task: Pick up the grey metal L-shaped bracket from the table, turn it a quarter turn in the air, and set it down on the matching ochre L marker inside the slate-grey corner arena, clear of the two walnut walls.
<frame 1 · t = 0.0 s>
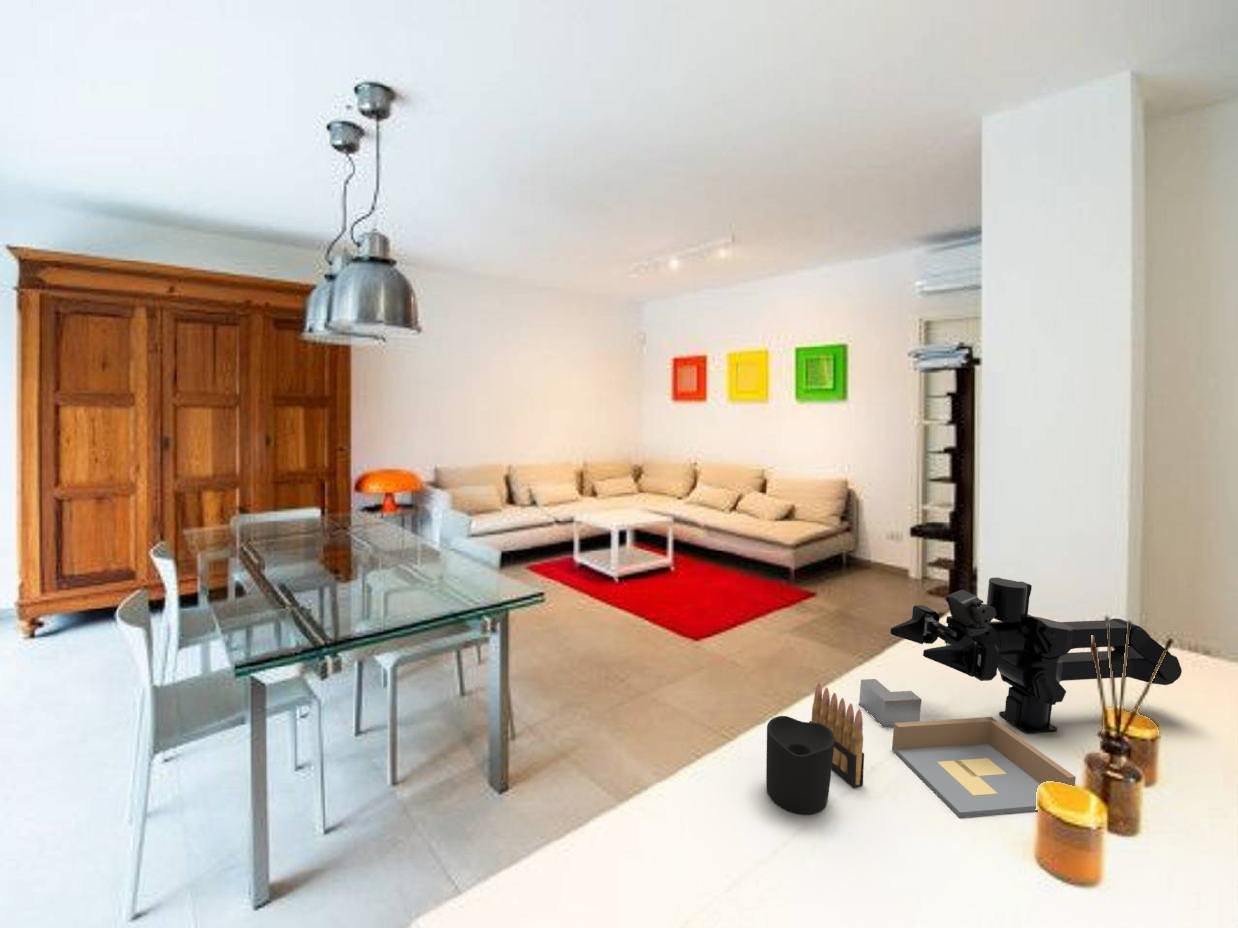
hand: (906, 641, 102), 17 cm above the kitchen counter, tool horizontal, fingers open, 9 cm apart
ammunition clip: (833, 767, 94), on the kitchen counter
pen holder: (796, 796, 87), on the kitchen counter
arena: (975, 776, 92), on the kitchen counter
angle bracket: (896, 721, 108), on the kitchen counter
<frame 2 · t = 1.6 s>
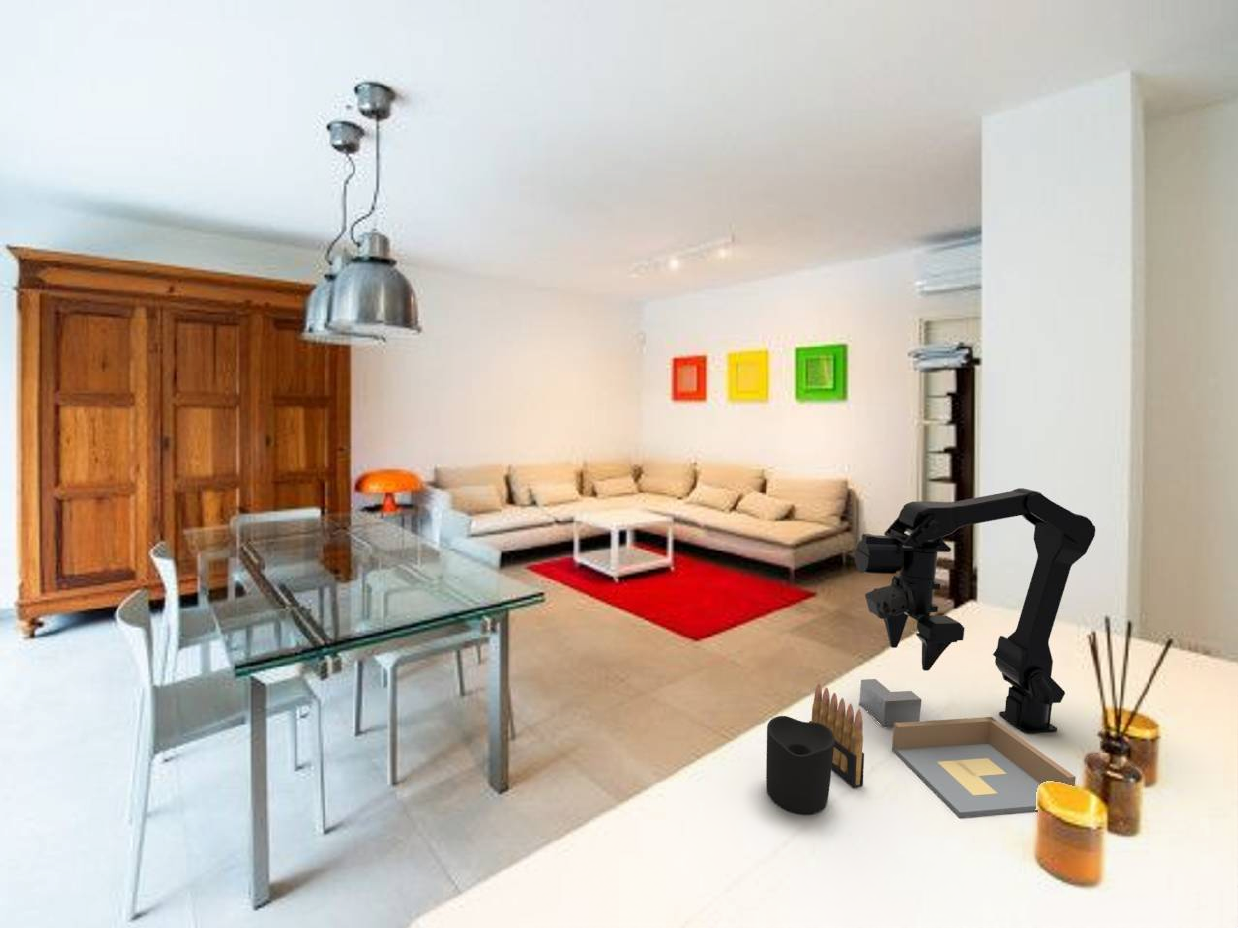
hand: (909, 658, 106), 12 cm above the kitchen counter, tool pointing down, fingers open, 9 cm apart
nothing on the kitchen counter moved.
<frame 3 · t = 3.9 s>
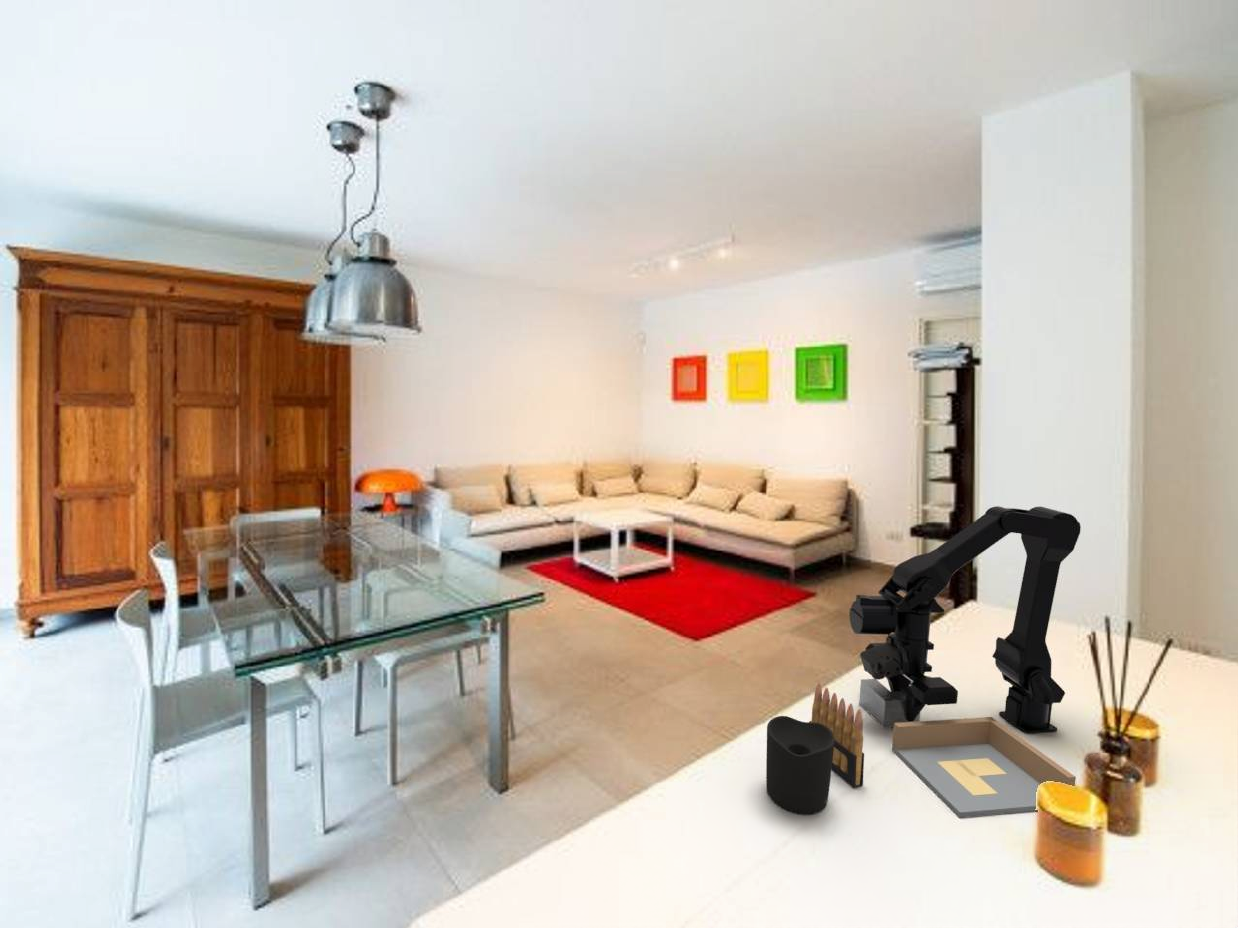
hand: (904, 715, 108), 1 cm above the kitchen counter, tool pointing down, fingers closed on angle bracket, 3 cm apart
angle bracket: (896, 721, 108), on the kitchen counter, touching gripper
everything else where it was.
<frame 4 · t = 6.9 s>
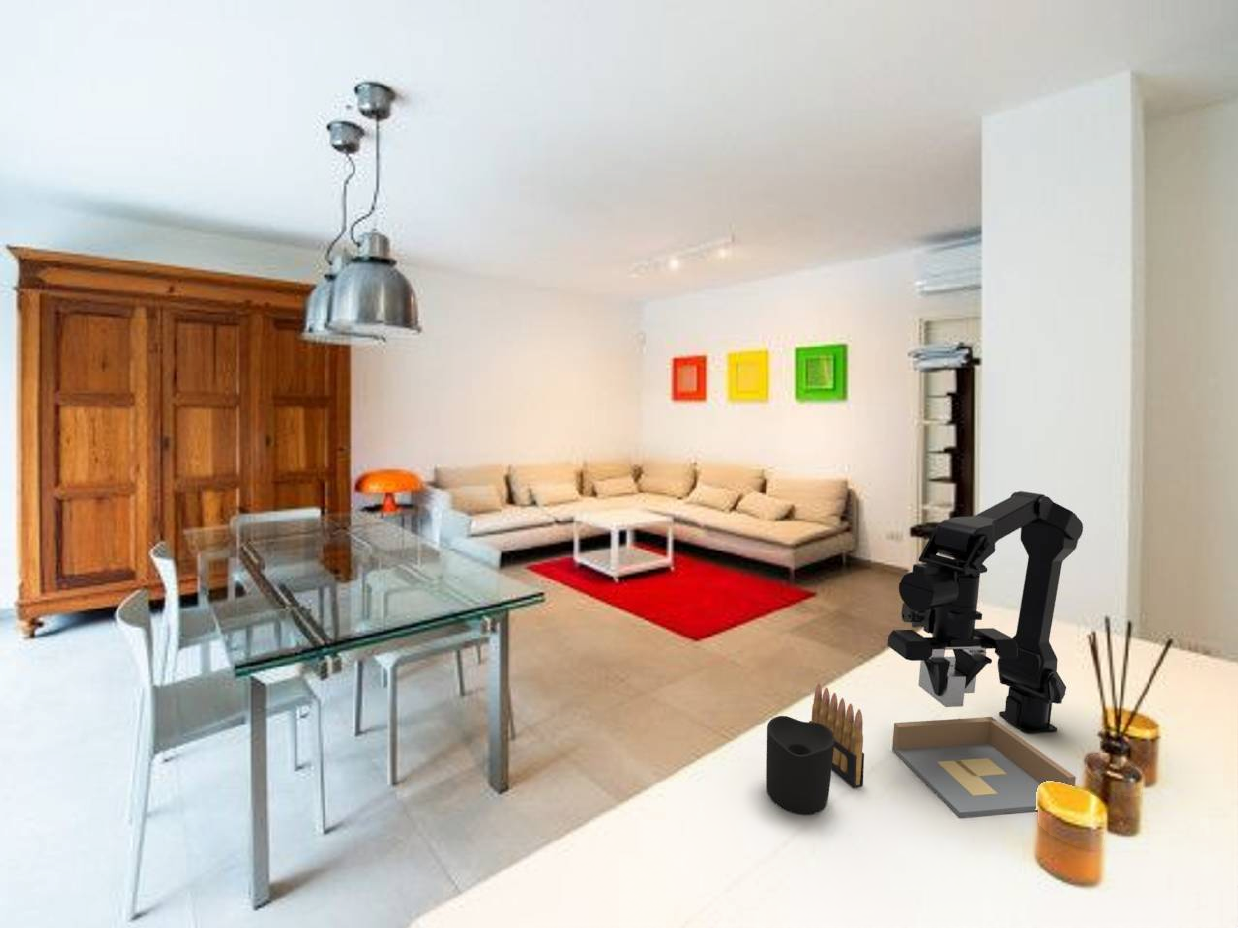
hand: (947, 694, 95), 11 cm above the kitchen counter, tool pointing down, fingers closed on angle bracket, 3 cm apart
angle bracket: (939, 695, 97), point 10 cm above the kitchen counter, touching gripper
everything else where it was.
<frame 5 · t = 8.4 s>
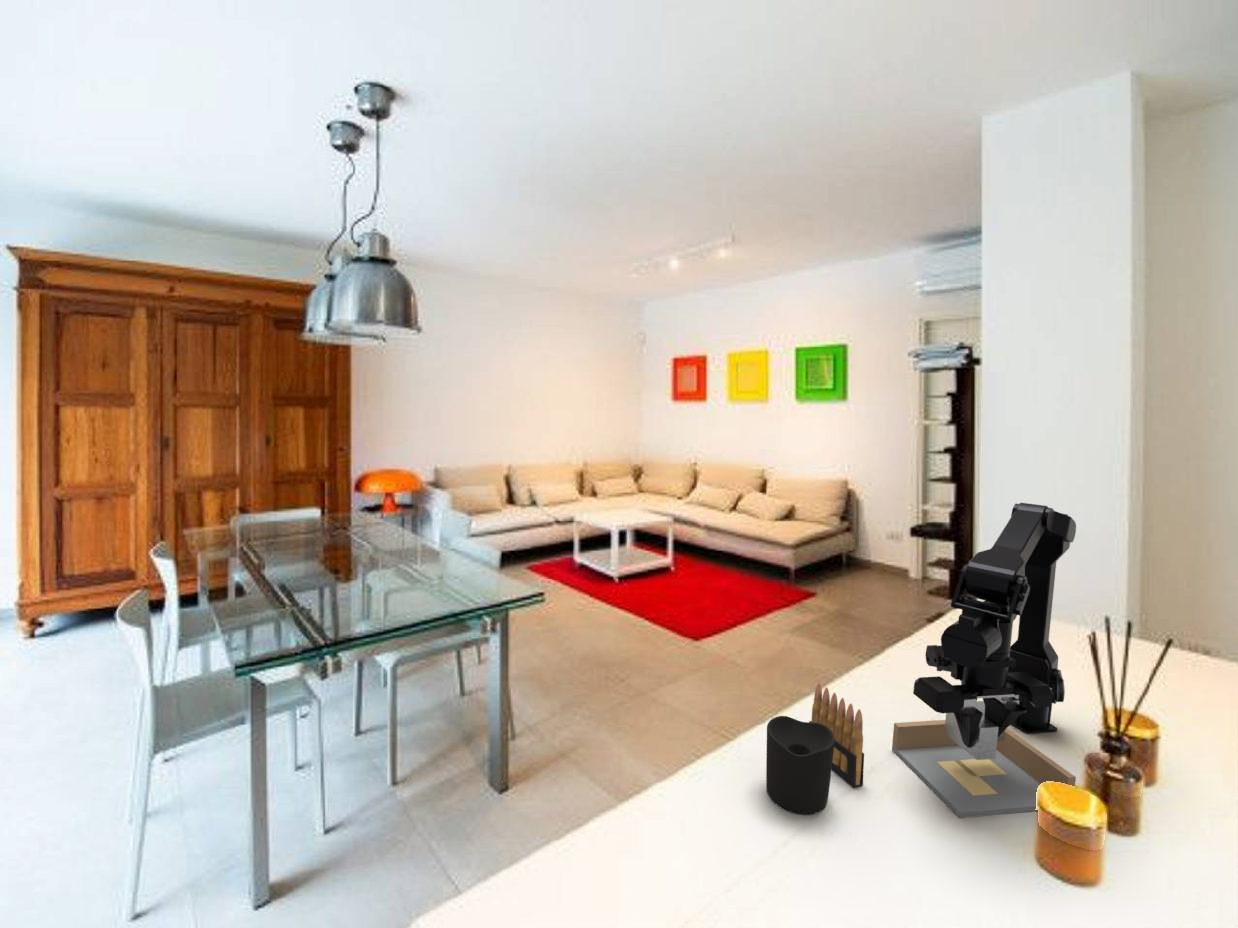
hand: (977, 745, 89), 7 cm above the kitchen counter, tool pointing down, fingers closed on angle bracket, 3 cm apart
angle bracket: (968, 745, 90), point 6 cm above the kitchen counter, touching gripper
everything else where it was.
when the fingers open (3 cm above the kitchen counter, at t = 9.9 s): angle bracket drops 1 cm, resting on arena.
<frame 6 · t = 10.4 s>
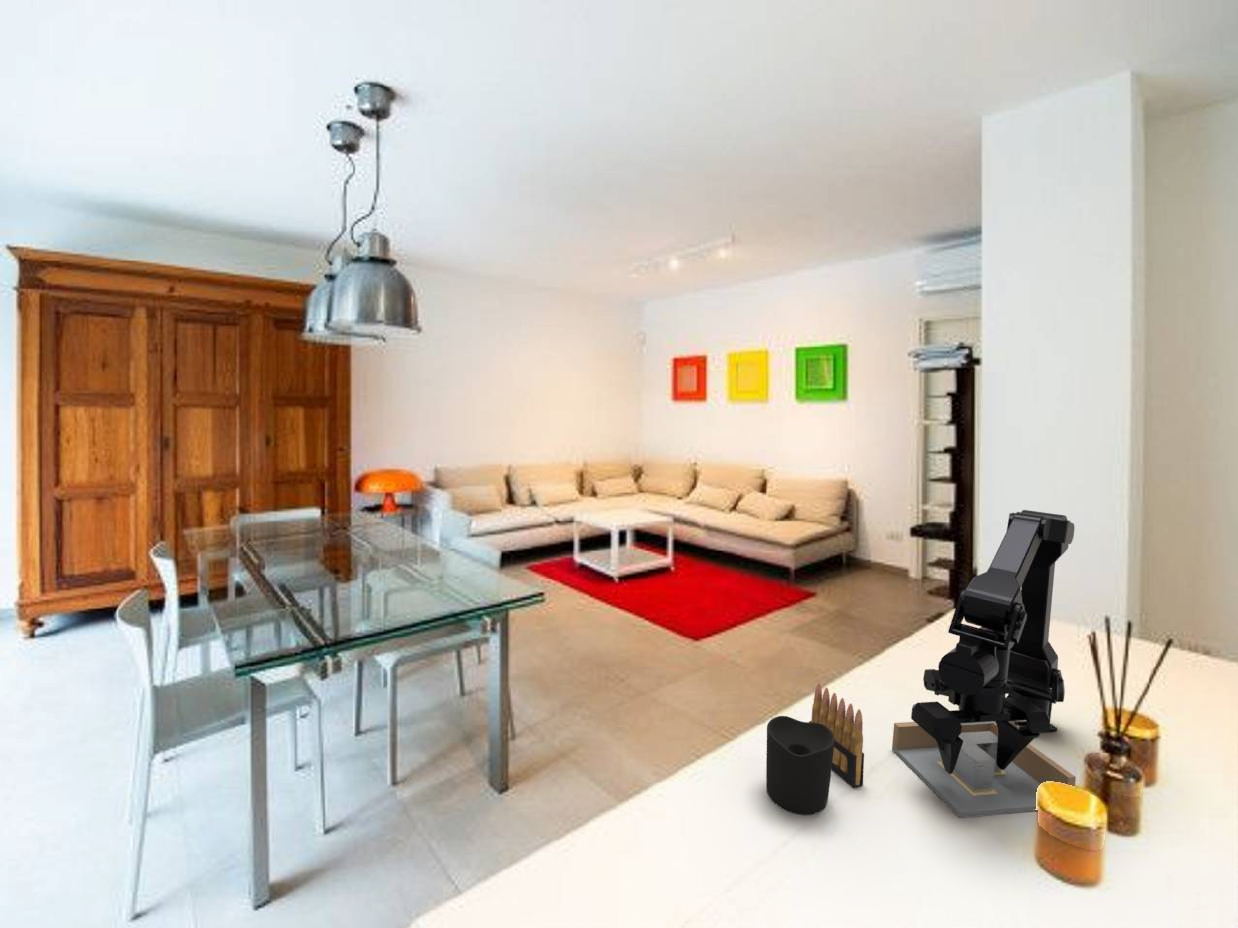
hand: (974, 769, 89), 3 cm above the kitchen counter, tool pointing down, fingers open, 8 cm apart
angle bracket: (965, 776, 91), point 1 cm above the kitchen counter, touching arena
everything else where it was.
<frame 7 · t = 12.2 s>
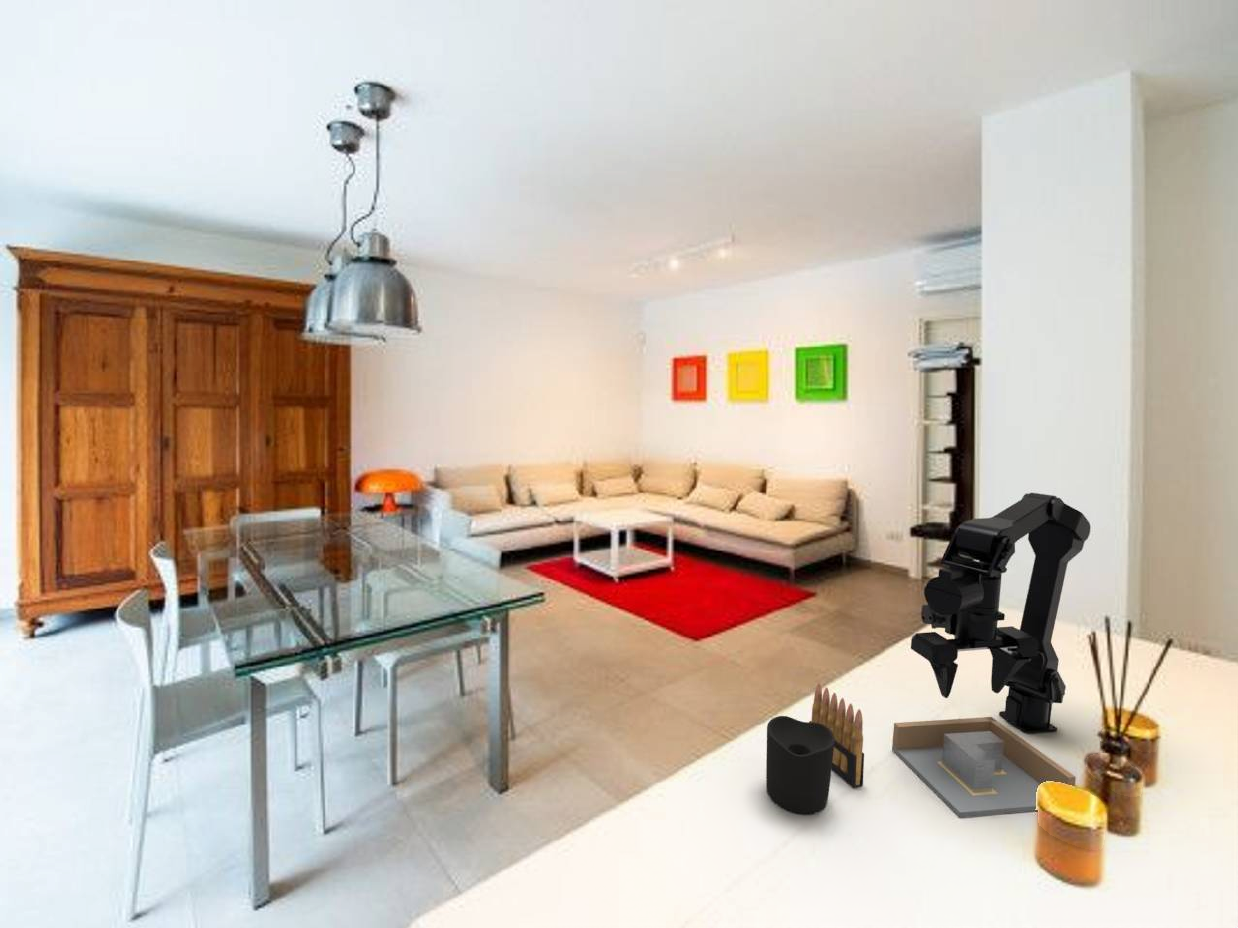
hand: (970, 694, 96), 11 cm above the kitchen counter, tool pointing down, fingers open, 9 cm apart
nothing on the kitchen counter moved.
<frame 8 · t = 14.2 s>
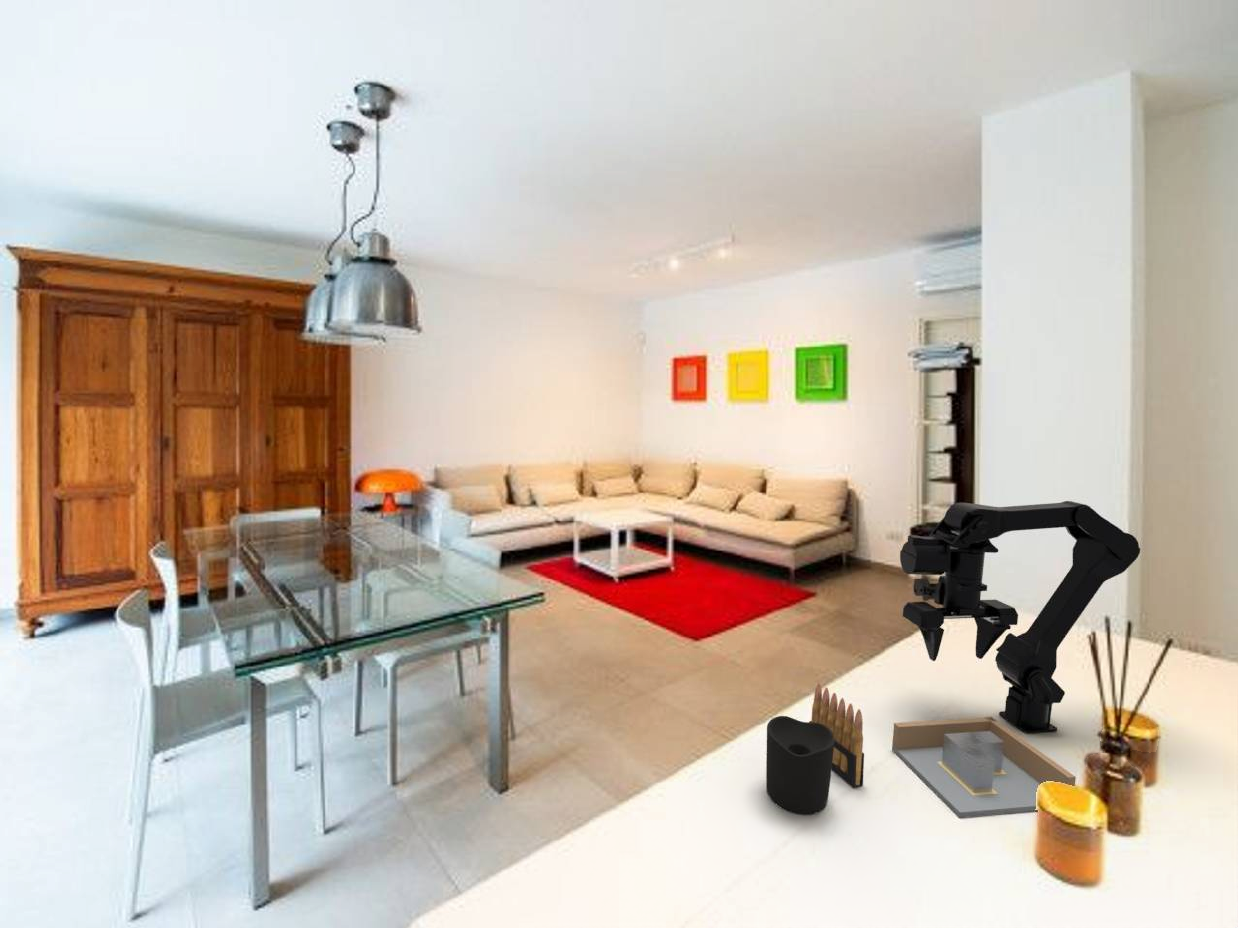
hand: (955, 658, 107), 12 cm above the kitchen counter, tool pointing down, fingers open, 9 cm apart
nothing on the kitchen counter moved.
at the end: angle bracket 0.0 cm from the target spot on the arena, point 0.8 cm above the arena's base; angle bracket tilted 0°; the gripper is holding nothing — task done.
